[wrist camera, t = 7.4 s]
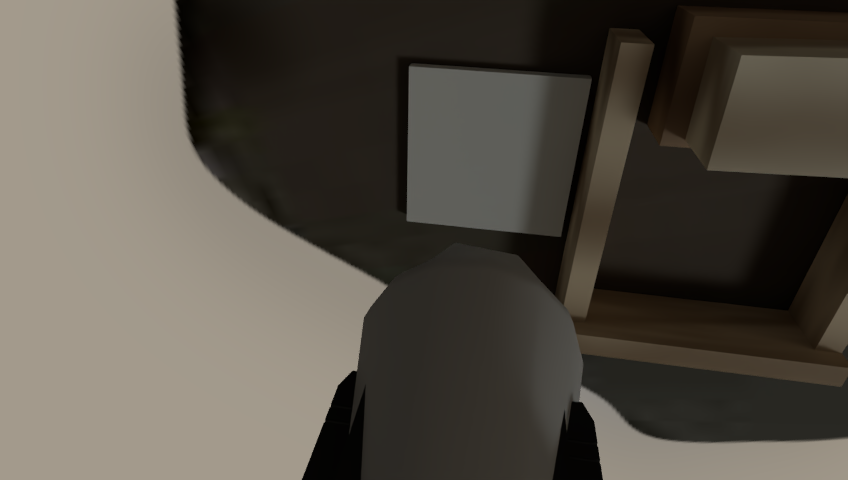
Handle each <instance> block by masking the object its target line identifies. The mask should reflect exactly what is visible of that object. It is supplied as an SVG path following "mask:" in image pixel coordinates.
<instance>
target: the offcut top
mask: <svg viewBox="0 0 848 480" xmlns="http://www.w3.org/2000/svg"><path fill="white" fill-rule="evenodd" d="M685 140H686V142H687V143H688V145H689V146H690V147H691V149H692V150H693V152H694V153H695V154H696V156H697V157H698V158H699V160H700V161H701V163H702V164H703V165H704V167H705V168H706V170H713V171H731V172H748V173H766V174H783V175H800V176H818V177H835V178H848V40H820V39H780V38H741V37H713V39H712V43H711V47H710V50H709V54H708V58H707V61H706V65H705V69H704V73H703V76H702V80H701V84H700V87H699V91H698V95H697V98H696V102H695V106H694V110H693V113H692V117H691V121H690V124H689V128H688V132H687V135H686V139H685Z"/></svg>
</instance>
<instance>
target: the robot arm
mask: <svg viewBox="0 0 848 480" xmlns="http://www.w3.org/2000/svg"><path fill="white" fill-rule="evenodd" d="M356 376H357V371H352V372H351V373H350V374H349V375H348V376H347V377H346V378H345V379H344V380H343V381H342V382H341V383H340V384H339V385H338V388H337V390H336V393H335V395H334V398H333V400H332V403H331V407H330V409H329V411H328V414H327V416H326V419H325V423H324V424H323V427H322V429H321V432H320V435H319V437H318V439H317V442H316V445H315V447H314V450H313V452H312V455H311V458H310V461H309V463H308V465H307V468H306V471H305V473H304V476H303V478H302V480H361V468H362V449H363V429H364V409H365V389H366V384H365V387H364V391H363V394H362V397H361V400H360V403H359V406H358V409H357V412H356V415H355V418H354V421H353V424H352V427H351V430H350V423H351V415H352V407H353V400H354V392H355V384H356ZM349 430H350V433H349ZM553 480H603V478H602V472H601V465H600V458H599V452H598V447H597V437H596V432H595V424H594V421H593V419H592V417H591V416H590V414H589V413H588V411H587V409H586V408H585V406H584V404H583V403H582V402H575V401H572V403H571V409H570V416H569V422H568V428H567V430H566V419H565V409H564V415H563V421H562V427H561V433H560V439H559V445H558V451H557V456H556V462H555V468H554V474H553Z"/></svg>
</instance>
